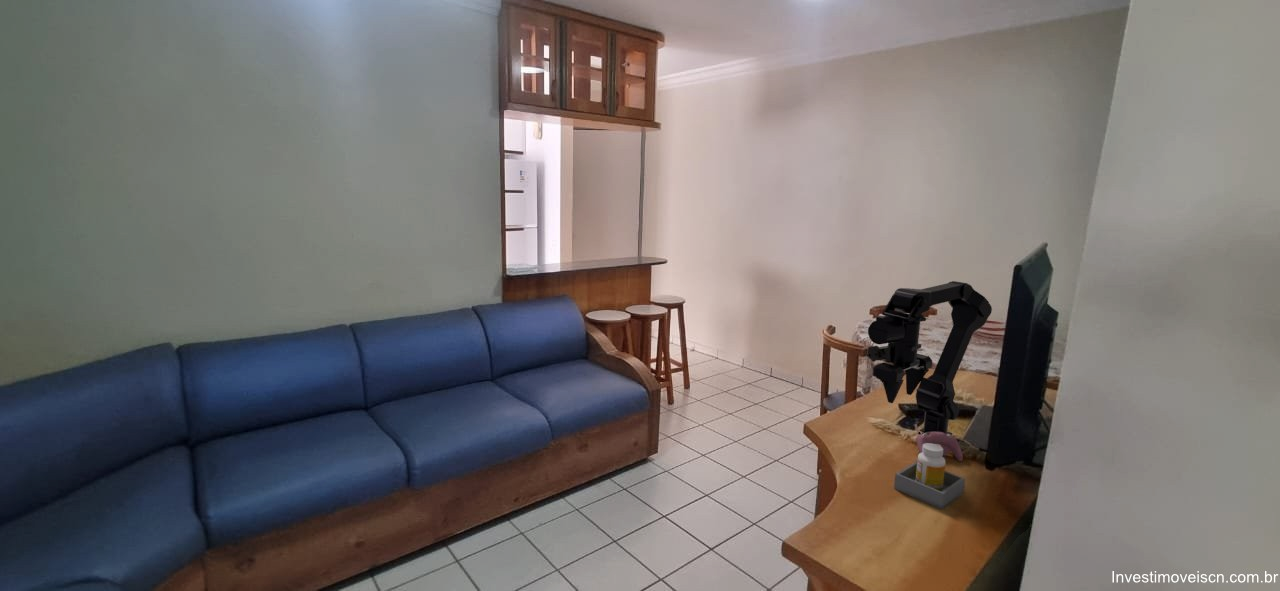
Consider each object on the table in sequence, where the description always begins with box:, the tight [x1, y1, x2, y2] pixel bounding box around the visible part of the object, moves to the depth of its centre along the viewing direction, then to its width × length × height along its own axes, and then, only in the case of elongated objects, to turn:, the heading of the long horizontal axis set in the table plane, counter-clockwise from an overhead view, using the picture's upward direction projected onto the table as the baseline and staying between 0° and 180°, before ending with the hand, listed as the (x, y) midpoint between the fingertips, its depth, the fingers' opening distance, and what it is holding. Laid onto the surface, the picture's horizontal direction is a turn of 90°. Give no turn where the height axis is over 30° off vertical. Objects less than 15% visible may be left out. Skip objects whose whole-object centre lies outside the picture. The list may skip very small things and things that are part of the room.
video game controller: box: [915, 432, 964, 462], centre depth 135 cm, size 10×5×7 cm, turn 85°
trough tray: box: [893, 460, 966, 510], centre depth 119 cm, size 10×10×4 cm
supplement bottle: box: [915, 443, 946, 492], centre depth 118 cm, size 5×5×10 cm
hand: (899, 398), depth 138 cm, fingers open, 9 cm apart
